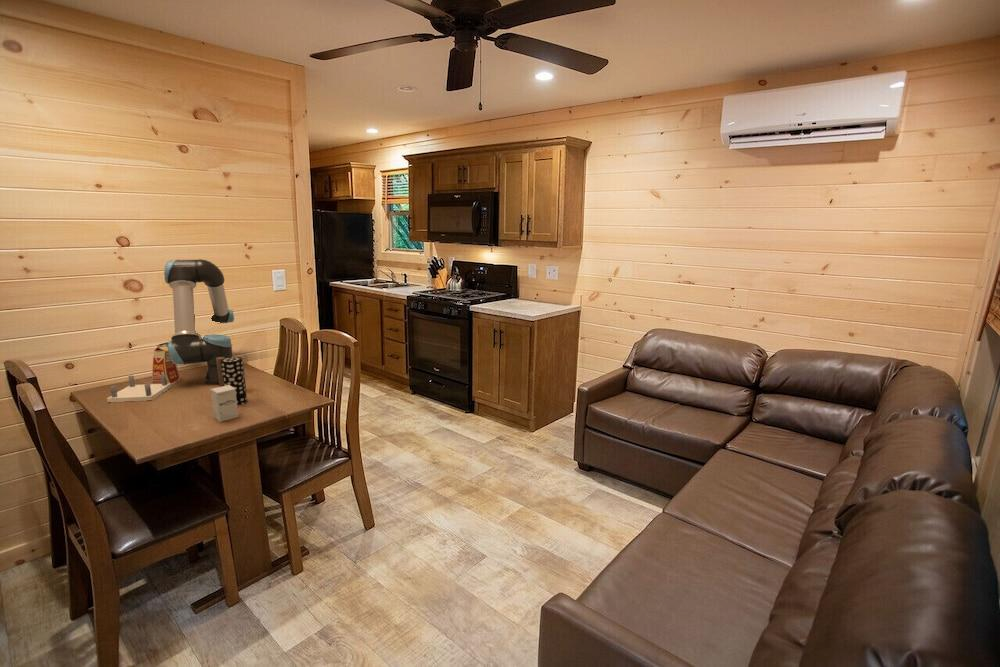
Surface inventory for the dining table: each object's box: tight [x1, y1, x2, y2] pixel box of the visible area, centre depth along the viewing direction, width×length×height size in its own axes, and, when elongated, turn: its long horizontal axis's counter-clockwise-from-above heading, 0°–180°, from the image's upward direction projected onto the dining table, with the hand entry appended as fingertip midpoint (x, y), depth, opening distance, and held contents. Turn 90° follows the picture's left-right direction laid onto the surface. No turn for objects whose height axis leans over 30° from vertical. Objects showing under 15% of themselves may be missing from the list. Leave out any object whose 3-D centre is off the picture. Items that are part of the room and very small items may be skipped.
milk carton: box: [151, 344, 181, 385], centre depth 241 cm, size 9×9×20 cm
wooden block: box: [216, 357, 247, 389], centre depth 227 cm, size 4×11×18 cm, turn 134°
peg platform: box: [106, 374, 173, 403], centre depth 225 cm, size 18×18×7 cm
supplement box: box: [209, 385, 239, 423], centre depth 200 cm, size 7×7×13 cm
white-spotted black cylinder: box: [220, 356, 248, 406], centre depth 215 cm, size 8×8×20 cm
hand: (172, 350), depth 250 cm, fingers open, 13 cm apart
